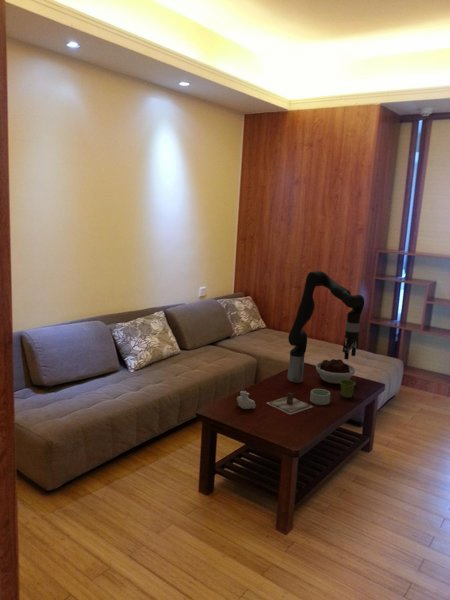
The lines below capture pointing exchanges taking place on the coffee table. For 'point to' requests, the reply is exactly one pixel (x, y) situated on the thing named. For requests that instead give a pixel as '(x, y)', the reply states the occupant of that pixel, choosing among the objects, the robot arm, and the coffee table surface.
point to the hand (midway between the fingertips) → (349, 357)
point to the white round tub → (335, 371)
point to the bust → (245, 401)
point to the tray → (288, 412)
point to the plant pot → (347, 388)
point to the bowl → (320, 396)
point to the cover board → (290, 407)
